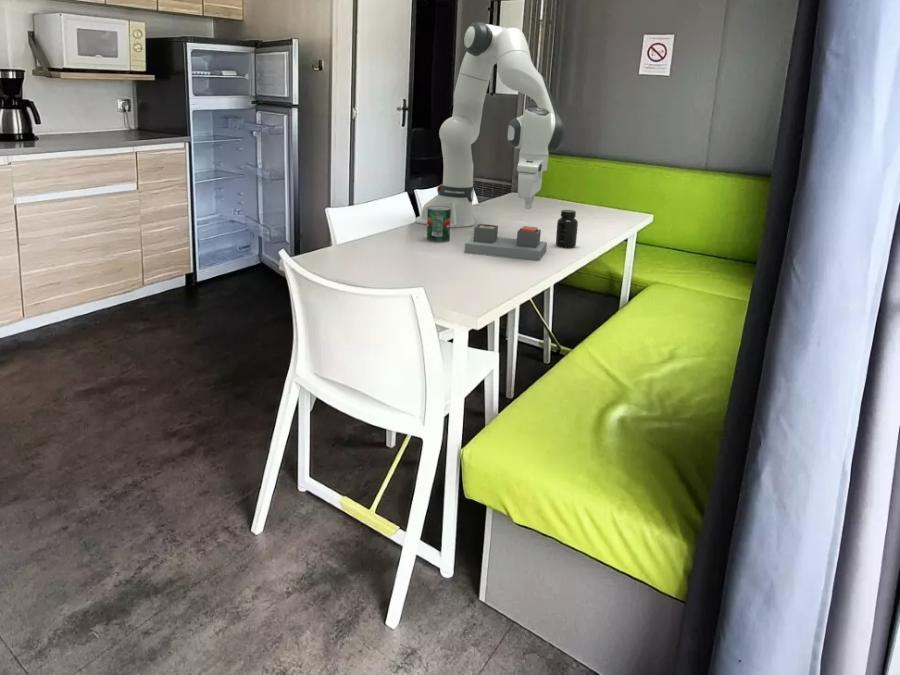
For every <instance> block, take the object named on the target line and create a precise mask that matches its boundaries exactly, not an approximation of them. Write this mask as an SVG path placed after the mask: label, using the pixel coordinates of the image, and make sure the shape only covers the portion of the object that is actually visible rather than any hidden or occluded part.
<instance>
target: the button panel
mask: <svg viewBox="0 0 900 675" xmlns="http://www.w3.org/2000/svg"><path fill="white" fill-rule="evenodd" d="M480 226H492V227H494V228H493V229H490V228H480ZM521 229H522V227H520V228H519V229H518V230H517V233H516V238H511V237H501V236H498V232H499V225H495V224H485V223H478V224H476V225H475V226H473V236H472V237H471V238H470V239H468V240H467V241H466V242H465V243H464V254H474V255H482V256H493V257H501V258H511V259H520V260H531V261H541V259H542V257H543V256H544V254H546V252H547V249H548V248H547V247H548V242H547V241H542V240H541V235H542V234H541V233H542V230H541V229H538V228H537V232H536V233H531V232H521Z"/></svg>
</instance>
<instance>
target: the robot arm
mask: <svg viewBox="0 0 900 675" xmlns="http://www.w3.org/2000/svg"><path fill="white" fill-rule="evenodd" d="M463 46H464V49H465V51H466V52H465V54H464V57H463V59H462V62H461V65H460V68H459V71H458V72H459V73H458V76H457V80H456V83H455V84H456V85H455V88H454V92H453V109H452V114H451V115H452V116H451V117H449V118H447V119H445V120H444V121H443V122H442V124H441V126H440V128H439V132H438V135H439V136H438V137H439V139H440V143H441V144H440V145H441V152H442V158H443V159H442V161H443V163H442V164H443V175H442V183H441V184H439V186H437V188H436V192H437V194H436V195H435V196H434V197H433V198H431V199H430V200H429V201H427V202H426V203H425V204H423V206H422V210H421V215H419V216H417V217H416V218H415V223H417V224H422V225H427V214H428V213H427V212H428V207H429V206H447V207H450V208H451V217H450V218H451V219H450V229H451V228H459V227H461V228H462V227H470V226H474V225H475V224H476V222H475V217H474V210H473V202H474V194H475V192H474V191H475V190H474V185H473V184H474V181H473V180H474V161H473V155H472V154H473V153H472V144H473V143H475V142H476V141H477V140H478V137H479V135H480V131H481V129H480V128H481V124H482V116H483V109H484V102H485V99H486V96H487V95H486V94H487V92H488V88H489V84H490V80H491V75H492V71H493V67H494V66H495V65H496V66H497V73H498V77H499V80H500V81H501V83H502V84H503V85H504V86H505V87H507V88H508V89H510V90H512V91H515V92H518V93H521V94H523V95H525V96H528V97H529V98H531V99H532V100H533V101H534V102H535V103H536V106H537V107H535V106H534V107H533V106H532V107H527V108H526V109H525V111H524V113H523V114H522V115H520V116H518V117H514V118H513V119H512V120H511V121H510V122H509V123H508V124H507V129H506V141H507V142H508V144H509V145H510V146H511V147H512V148H514V149H518V150H519V149H520V150H519V153H518V164H517V167H516V172H518V177H517V178H518V179H517V193H518V194H517V195H518V198H520V199H524V209H525V210H531V209H532V208H533V202H534V199H535V195H536V194H537V193H538V192H539V191H541V189H542V184H543V182H542V181H543V173H544V172H547V169H548V162H549V161H548V160H549V152H553V153H554V152H556V151H557V150H559V149H560V148H561V147H562V145H564V144H565V141H566V137H567V136H566V135H567V133H566V132H567V131H566V127H565V124H564V123H563V121H562V119H561V118H560V115H559V112H558V110H557V107H556V104H555V102H554V99H553V96H552V92H551V90H550V87H549V86H548V83H547V80H546V78H545V77H544V75H542V74H541V73H539V71H538V70H537V68H536V67H535V66H534V63H533V60H532V57H531V52H530V48H529V44H528V41H527V39H526V36H525V34H524V32H523V31H522V30H521V29H519V28H518V27H507V28H506V27H504V26H500V25H494V24H488V23H485V22H482V21H481V22H480V21H476V22H472V23H470V24H469V26H467V28H466V30H465V32H464V36H463Z"/></svg>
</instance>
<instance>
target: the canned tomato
mask: <svg viewBox="0 0 900 675" xmlns="http://www.w3.org/2000/svg"><path fill="white" fill-rule="evenodd" d="M427 213H428V214H427V224H426V240H427V241H428V242H432V243H447V242H450V240H451V239H450V238H451V237H450V236H451V235H450V234H451V228H450V219H451V218H450V217H451V208H450V207H447V206H429V207H428V212H427Z"/></svg>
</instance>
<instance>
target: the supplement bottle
mask: <svg viewBox="0 0 900 675" xmlns="http://www.w3.org/2000/svg"><path fill="white" fill-rule="evenodd" d="M560 212H561V213H560V217H559V218H558V219H557V223H556V235H555V245H556V247H558V248H561V247H562V248H563V249H573V248H576V245H577V235H578V225H579V224H578V223H579V222H578V220H577V218H576V217H577V216H576V214H577V213H576V210H574V209H561V211H560Z"/></svg>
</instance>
